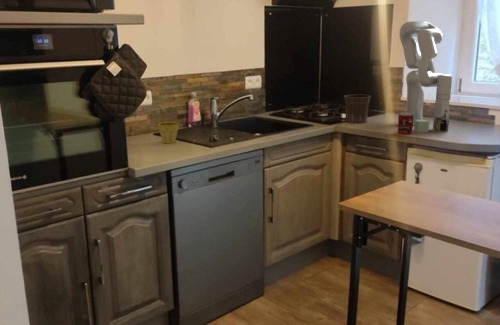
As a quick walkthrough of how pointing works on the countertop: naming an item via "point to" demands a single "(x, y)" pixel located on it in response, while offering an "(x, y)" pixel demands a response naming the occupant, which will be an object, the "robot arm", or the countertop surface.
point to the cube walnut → (437, 125)
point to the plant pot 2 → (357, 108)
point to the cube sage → (421, 125)
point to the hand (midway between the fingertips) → (440, 128)
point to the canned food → (405, 123)
